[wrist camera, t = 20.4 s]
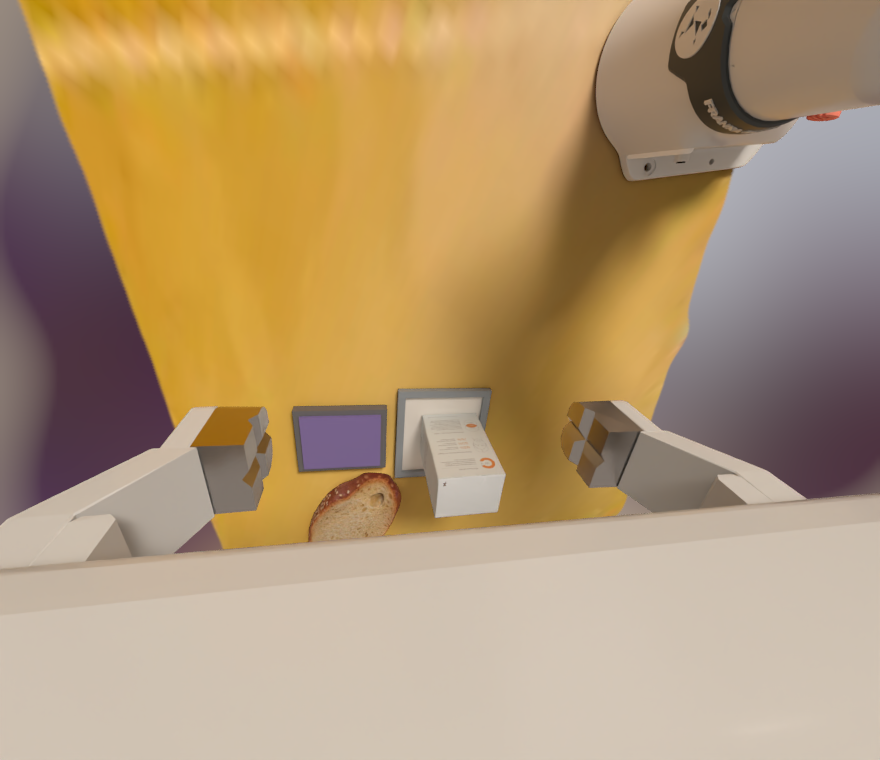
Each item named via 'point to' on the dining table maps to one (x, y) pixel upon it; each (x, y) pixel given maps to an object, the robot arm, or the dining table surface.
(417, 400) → the print frame
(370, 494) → the bread slice
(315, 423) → the ink pad
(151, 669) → the robot arm
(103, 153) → the dining table surface
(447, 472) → the small box
